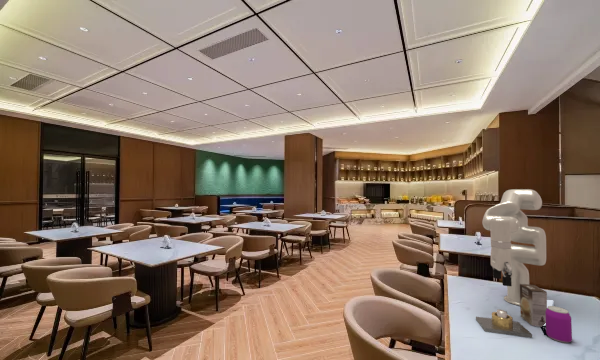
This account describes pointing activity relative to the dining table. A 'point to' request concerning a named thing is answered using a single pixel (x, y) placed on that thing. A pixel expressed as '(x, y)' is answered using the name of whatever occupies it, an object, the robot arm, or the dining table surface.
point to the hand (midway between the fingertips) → (501, 281)
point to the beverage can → (558, 324)
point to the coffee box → (533, 304)
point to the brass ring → (502, 321)
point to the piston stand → (490, 327)
